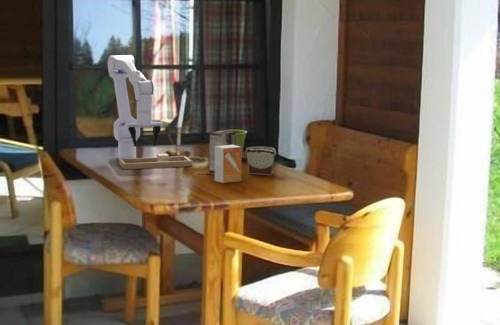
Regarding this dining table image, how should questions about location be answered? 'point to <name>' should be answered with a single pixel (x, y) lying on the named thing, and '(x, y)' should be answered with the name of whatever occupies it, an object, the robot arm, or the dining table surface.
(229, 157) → the small box
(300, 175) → the dining table surface
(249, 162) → the food container
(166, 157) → the birch cube
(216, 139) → the coffee box
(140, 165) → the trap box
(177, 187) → the dining table surface
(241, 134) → the plant pot
